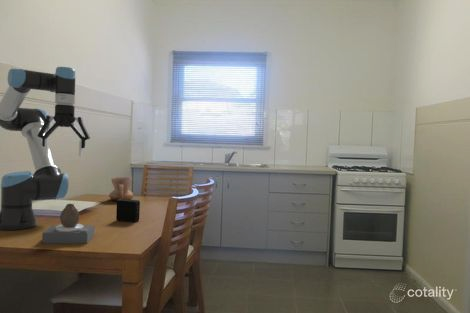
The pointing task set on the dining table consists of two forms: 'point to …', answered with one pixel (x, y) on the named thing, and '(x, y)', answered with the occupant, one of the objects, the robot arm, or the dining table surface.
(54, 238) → the grey dome button box
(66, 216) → the vase
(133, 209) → the electronic device
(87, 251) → the dining table surface
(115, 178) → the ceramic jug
